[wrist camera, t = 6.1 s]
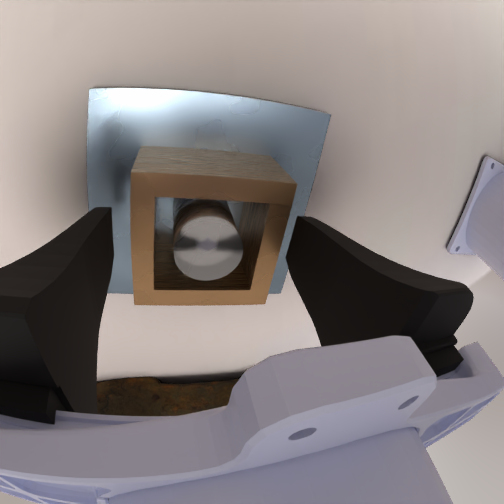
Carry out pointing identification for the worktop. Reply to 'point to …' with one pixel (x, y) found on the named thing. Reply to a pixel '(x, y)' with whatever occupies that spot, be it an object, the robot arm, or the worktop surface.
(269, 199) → the square wooden frame
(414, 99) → the worktop surface
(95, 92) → the piston plate
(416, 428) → the robot arm
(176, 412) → the dark brown long piece
